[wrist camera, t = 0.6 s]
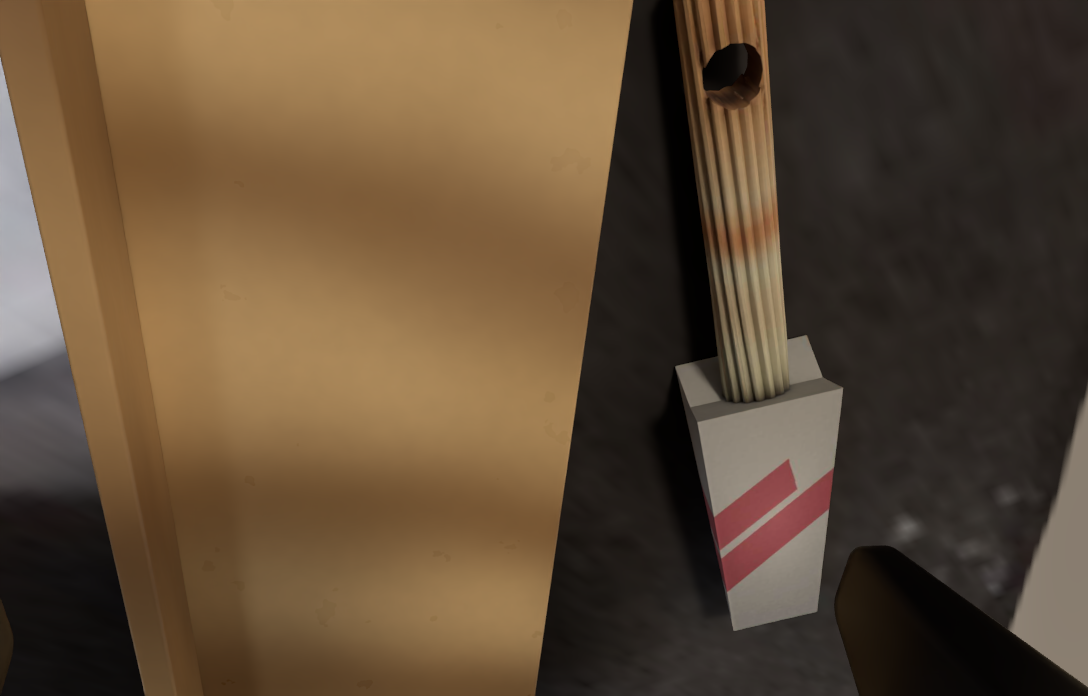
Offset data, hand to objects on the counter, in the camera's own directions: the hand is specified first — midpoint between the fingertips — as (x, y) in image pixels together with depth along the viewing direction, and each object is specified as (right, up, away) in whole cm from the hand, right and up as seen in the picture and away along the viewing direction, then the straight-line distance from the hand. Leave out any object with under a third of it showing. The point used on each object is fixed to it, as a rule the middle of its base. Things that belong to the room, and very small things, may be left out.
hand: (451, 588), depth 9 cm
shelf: (-3, +3, +14) cm, 14 cm away
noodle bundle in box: (+6, +3, +15) cm, 17 cm away
